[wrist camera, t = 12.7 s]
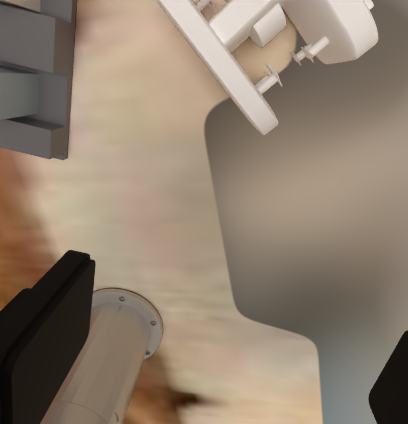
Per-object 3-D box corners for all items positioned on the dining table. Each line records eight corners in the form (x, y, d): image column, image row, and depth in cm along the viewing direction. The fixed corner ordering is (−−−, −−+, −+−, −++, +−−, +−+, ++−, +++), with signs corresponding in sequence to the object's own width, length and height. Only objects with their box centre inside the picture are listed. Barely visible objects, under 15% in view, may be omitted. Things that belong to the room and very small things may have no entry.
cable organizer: (158, -2, 31) (119, -46, 20) (247, -97, 28) (256, -209, 17) (254, 122, 35) (263, 141, 24) (342, 50, 31) (399, 35, 21)
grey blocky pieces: (67, 158, 38) (49, 166, 34) (-17, 137, 38) (-45, 143, 34) (82, -91, 29) (60, -116, 25) (-28, -118, 29) (-66, -148, 25)
